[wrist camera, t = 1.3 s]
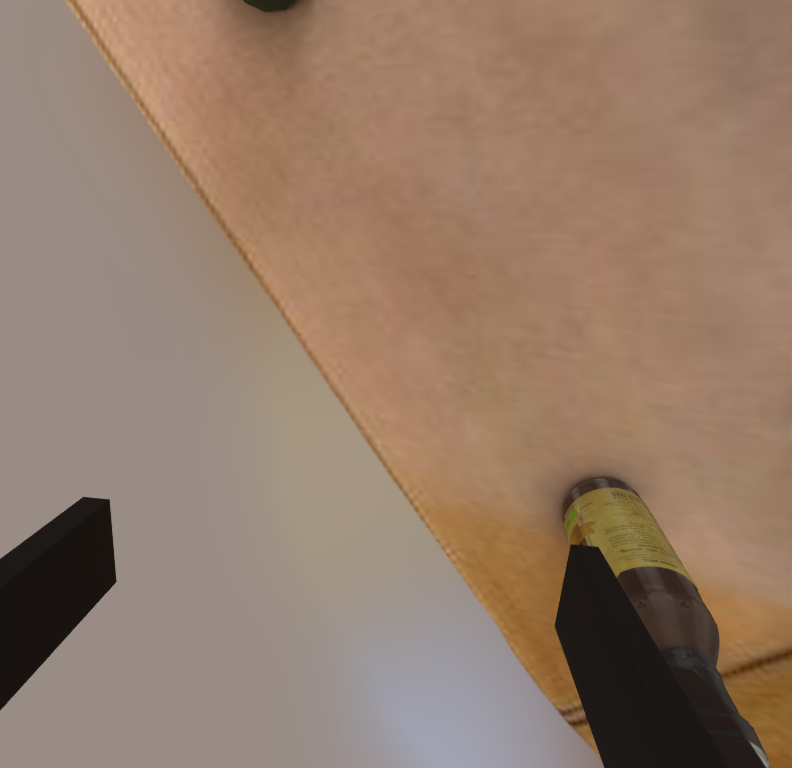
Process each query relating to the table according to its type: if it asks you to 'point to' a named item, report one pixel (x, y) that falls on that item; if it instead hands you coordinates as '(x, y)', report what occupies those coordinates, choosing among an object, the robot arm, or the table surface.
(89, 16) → the table surface
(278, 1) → the character mug
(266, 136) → the table surface
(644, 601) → the sauce bottle
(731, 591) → the table surface
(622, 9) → the table surface
